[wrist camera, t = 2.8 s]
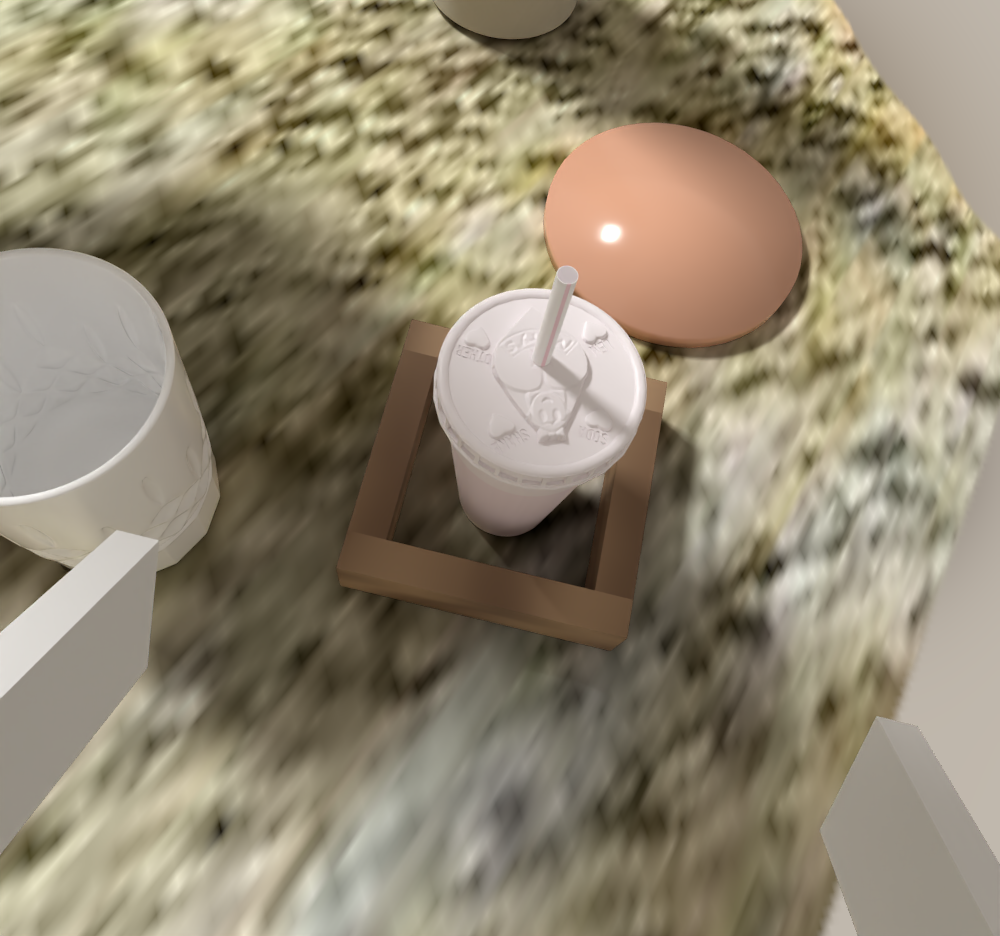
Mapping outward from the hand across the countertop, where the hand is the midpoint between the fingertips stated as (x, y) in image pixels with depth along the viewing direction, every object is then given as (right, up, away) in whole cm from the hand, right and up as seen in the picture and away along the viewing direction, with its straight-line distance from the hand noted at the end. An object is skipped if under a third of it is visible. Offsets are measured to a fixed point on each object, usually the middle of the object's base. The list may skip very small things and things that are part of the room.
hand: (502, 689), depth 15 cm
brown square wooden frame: (0, +3, +18) cm, 19 cm away
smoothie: (0, +3, +19) cm, 19 cm away
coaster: (+8, +15, +24) cm, 30 cm away
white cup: (-14, +3, +17) cm, 22 cm away
